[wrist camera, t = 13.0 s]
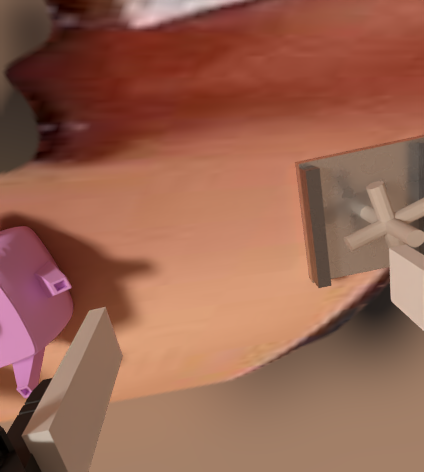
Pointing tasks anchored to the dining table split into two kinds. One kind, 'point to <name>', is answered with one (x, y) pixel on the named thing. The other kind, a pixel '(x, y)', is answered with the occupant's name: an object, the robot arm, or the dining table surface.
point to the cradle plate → (355, 204)
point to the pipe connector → (387, 221)
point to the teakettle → (29, 304)
